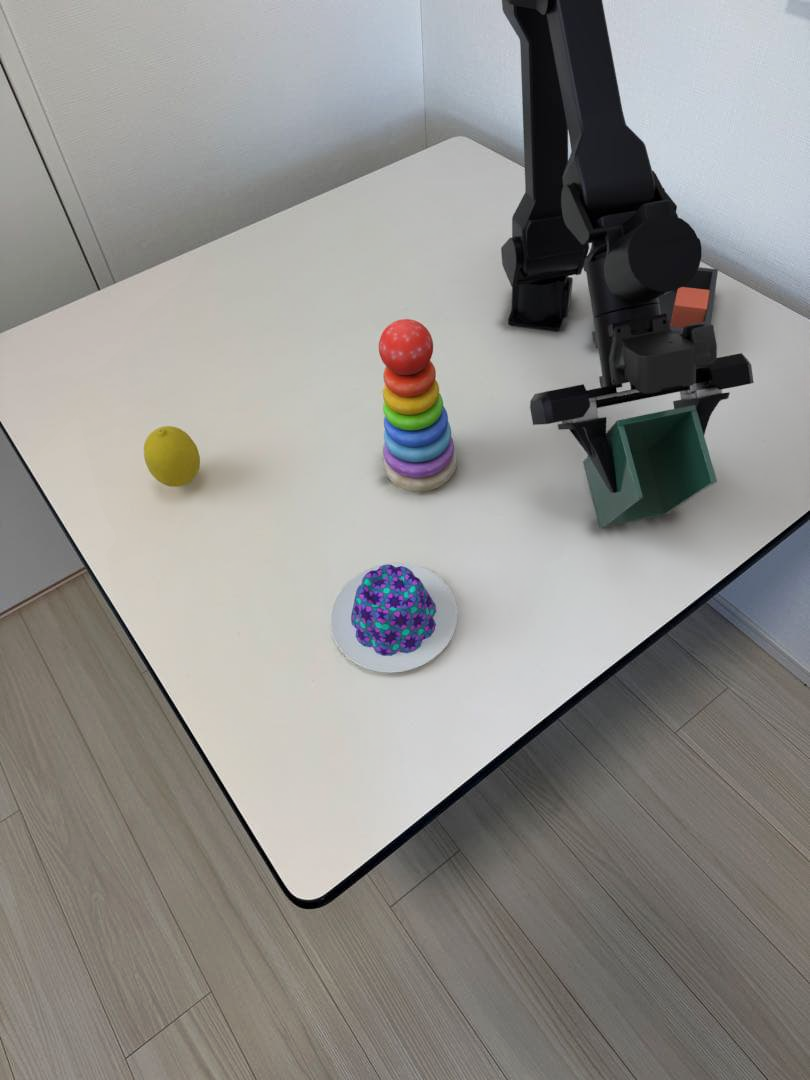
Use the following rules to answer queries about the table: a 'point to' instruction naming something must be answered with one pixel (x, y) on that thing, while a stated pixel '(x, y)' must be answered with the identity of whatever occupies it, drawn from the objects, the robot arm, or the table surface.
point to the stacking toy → (414, 411)
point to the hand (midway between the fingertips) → (652, 484)
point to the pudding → (393, 617)
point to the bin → (700, 280)
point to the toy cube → (689, 307)
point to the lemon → (171, 456)
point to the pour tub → (652, 466)
